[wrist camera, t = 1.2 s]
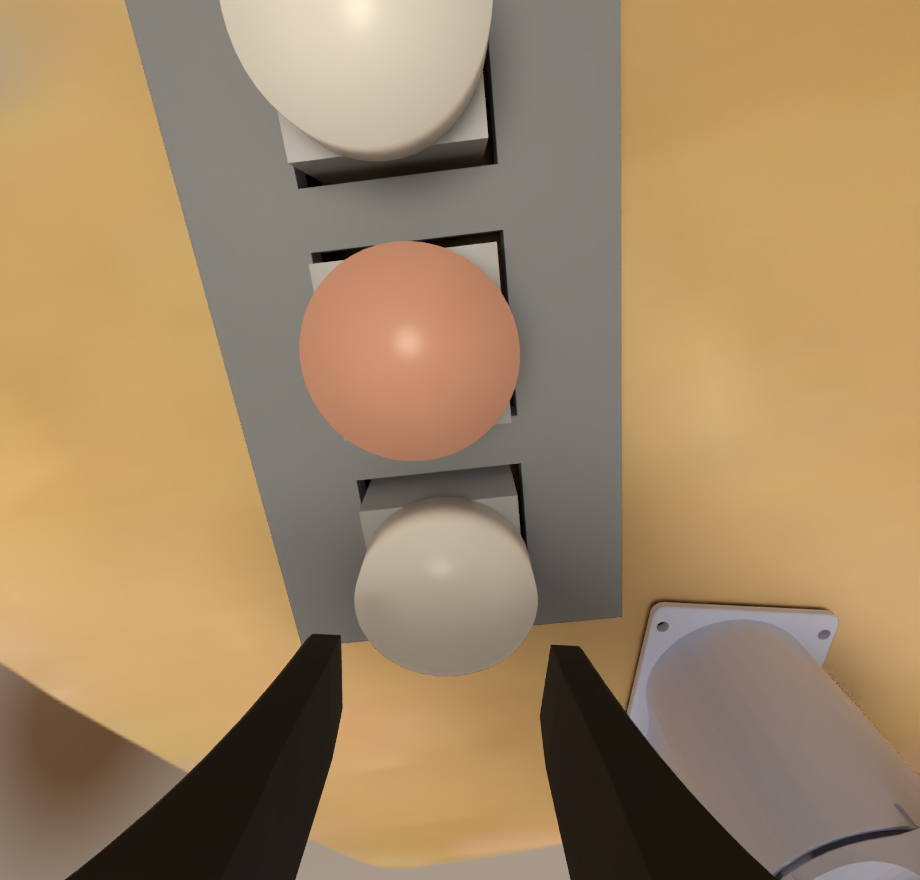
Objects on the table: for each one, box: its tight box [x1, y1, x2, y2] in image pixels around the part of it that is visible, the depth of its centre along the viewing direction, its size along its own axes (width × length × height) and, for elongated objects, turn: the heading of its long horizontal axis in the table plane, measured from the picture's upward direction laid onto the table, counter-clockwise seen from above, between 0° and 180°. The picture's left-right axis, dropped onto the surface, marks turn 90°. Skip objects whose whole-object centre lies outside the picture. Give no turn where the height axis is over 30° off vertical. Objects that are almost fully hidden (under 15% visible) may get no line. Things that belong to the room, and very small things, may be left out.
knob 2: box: [354, 464, 538, 676], centre depth 15 cm, size 5×5×5 cm
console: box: [125, 0, 622, 645], centre depth 16 cm, size 20×11×4 cm, turn 6°
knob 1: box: [220, 0, 493, 185], centre depth 11 cm, size 5×5×5 cm
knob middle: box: [299, 241, 520, 461], centre depth 13 cm, size 5×5×5 cm
